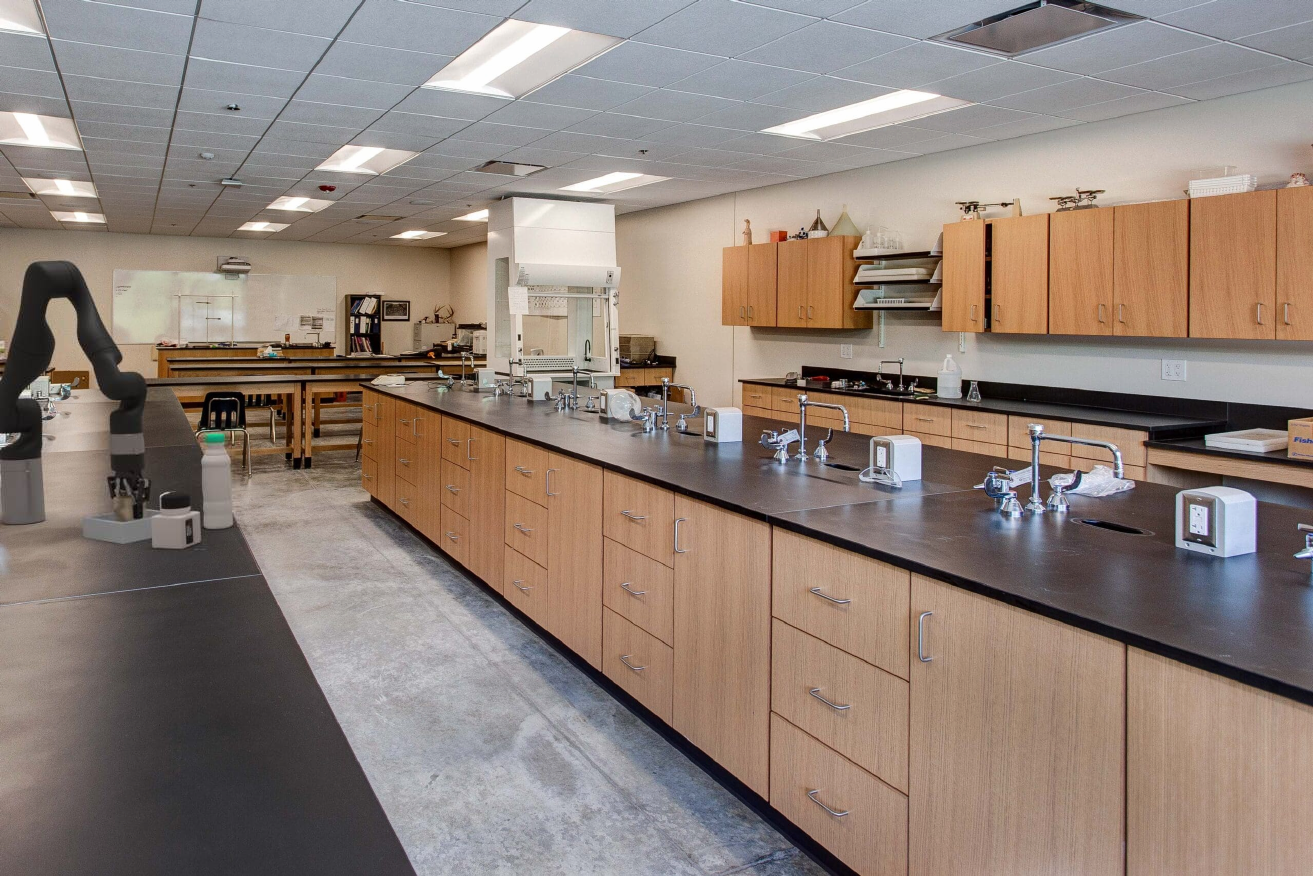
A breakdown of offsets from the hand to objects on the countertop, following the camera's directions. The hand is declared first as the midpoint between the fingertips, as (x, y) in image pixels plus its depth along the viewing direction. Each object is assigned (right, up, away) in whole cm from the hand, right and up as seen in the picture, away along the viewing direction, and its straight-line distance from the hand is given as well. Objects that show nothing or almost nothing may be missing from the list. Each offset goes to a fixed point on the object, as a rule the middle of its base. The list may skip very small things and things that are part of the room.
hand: (130, 517), depth 226 cm
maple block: (0, -1, 0) cm, 1 cm away
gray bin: (0, -4, +1) cm, 5 cm away
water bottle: (+17, -4, +12) cm, 21 cm away
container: (+17, -6, -9) cm, 20 cm away
